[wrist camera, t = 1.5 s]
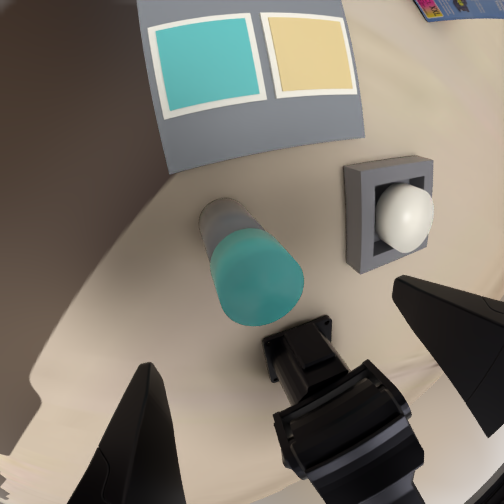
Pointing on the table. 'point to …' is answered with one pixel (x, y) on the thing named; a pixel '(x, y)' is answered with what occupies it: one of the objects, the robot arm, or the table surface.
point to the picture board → (248, 76)
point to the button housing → (365, 200)
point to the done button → (403, 216)
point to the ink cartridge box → (460, 9)
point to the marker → (248, 265)
